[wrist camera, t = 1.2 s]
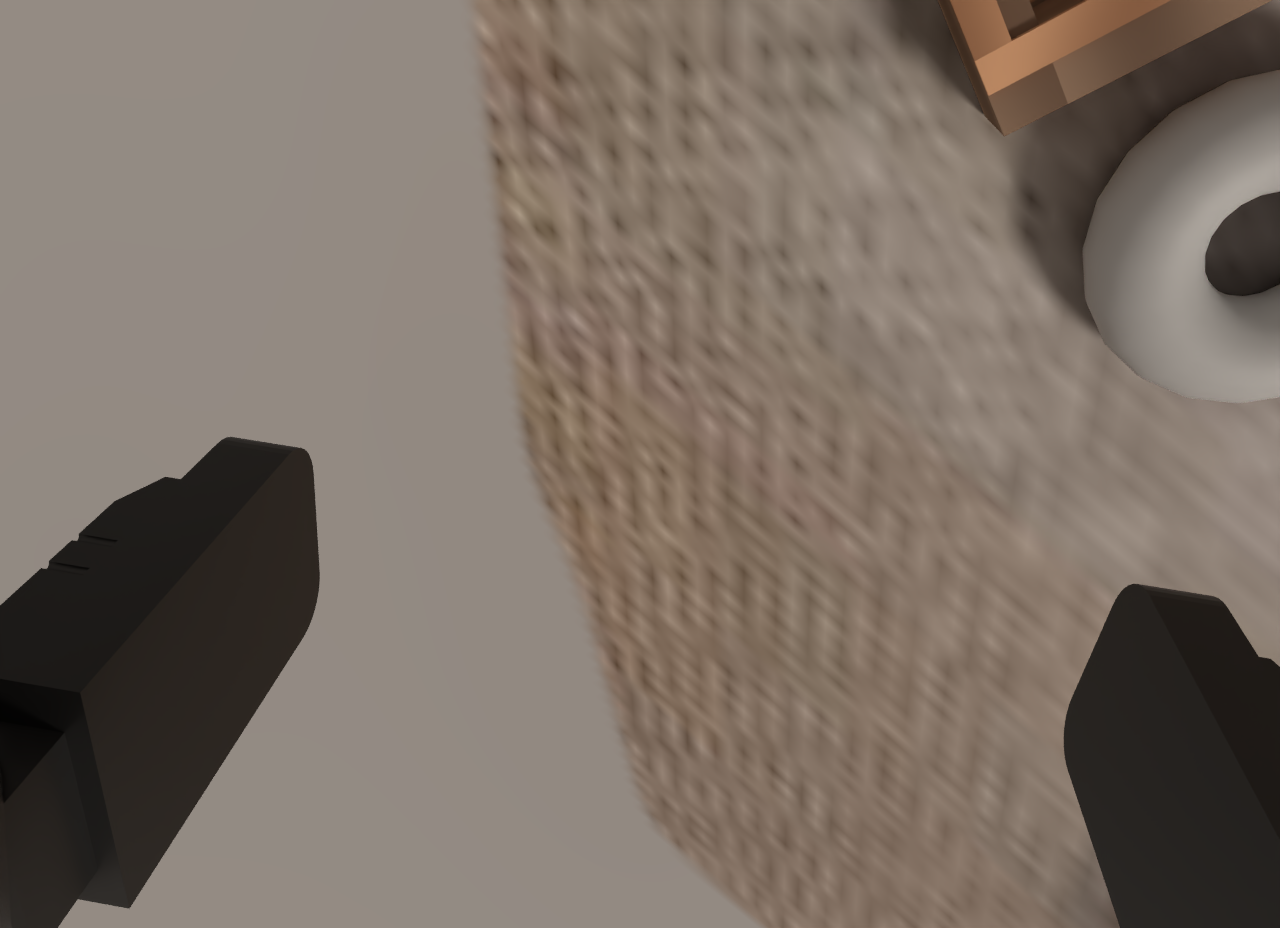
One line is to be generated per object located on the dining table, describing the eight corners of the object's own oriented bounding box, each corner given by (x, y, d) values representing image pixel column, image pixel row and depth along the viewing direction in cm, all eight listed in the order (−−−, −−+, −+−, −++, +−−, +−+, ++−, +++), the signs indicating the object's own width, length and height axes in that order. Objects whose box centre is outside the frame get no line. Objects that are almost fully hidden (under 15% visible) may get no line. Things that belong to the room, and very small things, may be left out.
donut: (1405, -2, 28) (1036, 138, 30) (1484, 9, 25) (1067, 163, 27) (1429, 316, 32) (1102, 415, 35) (1499, 359, 29) (1135, 463, 32)
